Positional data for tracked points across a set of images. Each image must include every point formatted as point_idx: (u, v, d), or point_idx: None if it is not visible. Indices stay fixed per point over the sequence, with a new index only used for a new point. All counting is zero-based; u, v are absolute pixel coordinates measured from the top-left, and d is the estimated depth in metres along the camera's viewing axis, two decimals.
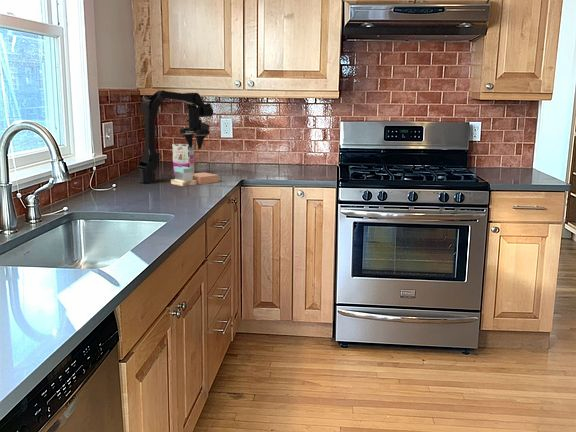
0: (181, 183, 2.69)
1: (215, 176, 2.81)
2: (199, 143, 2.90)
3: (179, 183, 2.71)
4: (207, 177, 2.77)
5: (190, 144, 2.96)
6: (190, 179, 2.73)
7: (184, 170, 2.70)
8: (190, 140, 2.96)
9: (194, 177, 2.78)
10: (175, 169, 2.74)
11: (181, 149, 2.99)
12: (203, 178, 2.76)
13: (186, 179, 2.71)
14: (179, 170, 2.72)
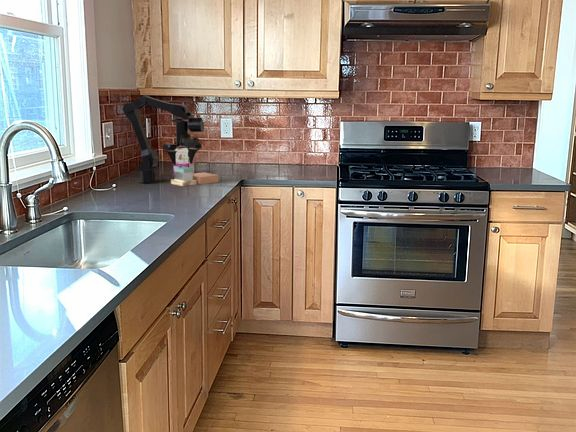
0: (181, 183, 2.69)
1: (215, 176, 2.81)
2: (171, 159, 2.69)
3: (179, 183, 2.71)
4: (207, 177, 2.77)
5: (190, 160, 2.76)
6: (190, 179, 2.73)
7: (184, 170, 2.70)
8: (190, 155, 2.76)
9: (194, 177, 2.78)
10: (175, 169, 2.74)
11: (181, 149, 2.99)
12: (203, 178, 2.76)
13: (186, 179, 2.71)
14: (179, 170, 2.72)
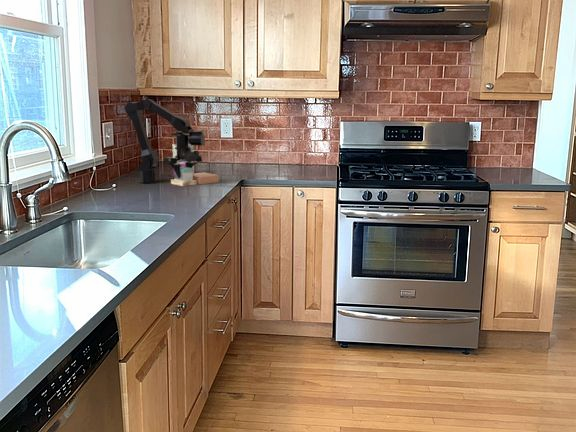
0: (181, 183, 2.69)
1: (215, 176, 2.81)
2: (176, 172, 2.72)
3: (179, 183, 2.71)
4: (207, 177, 2.77)
5: None
6: (190, 179, 2.73)
7: (184, 170, 2.70)
8: None
9: (194, 177, 2.78)
10: None
11: None
12: (203, 178, 2.76)
13: (186, 179, 2.71)
14: None
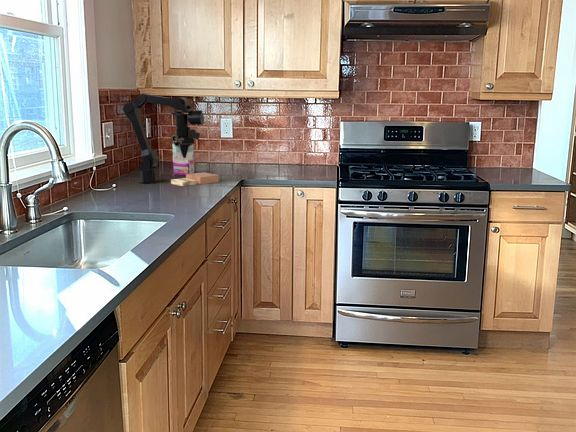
0: (181, 183, 2.69)
1: (215, 176, 2.81)
2: (183, 152, 2.68)
3: (179, 183, 2.71)
4: (207, 177, 2.77)
5: None
6: None
7: None
8: None
9: (194, 177, 2.78)
10: (178, 150, 2.68)
11: None
12: (203, 178, 2.76)
13: None
14: None
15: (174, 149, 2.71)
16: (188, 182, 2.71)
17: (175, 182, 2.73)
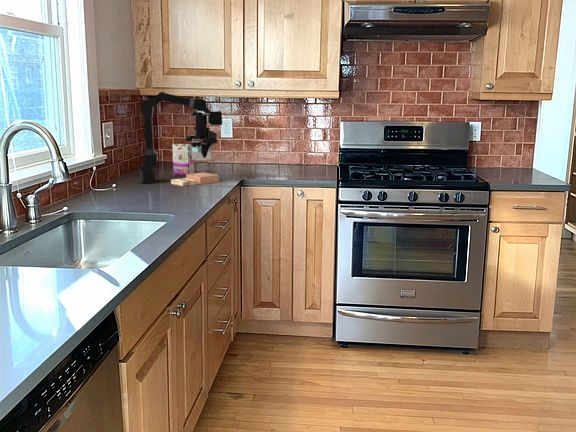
0: (181, 183, 2.69)
1: (215, 176, 2.81)
2: (204, 152, 2.76)
3: (179, 183, 2.71)
4: (207, 177, 2.77)
5: None
6: None
7: None
8: None
9: (194, 177, 2.78)
10: (199, 150, 2.76)
11: (181, 149, 2.99)
12: (203, 178, 2.76)
13: None
14: None
15: (193, 150, 2.77)
16: (188, 182, 2.71)
17: (175, 182, 2.73)
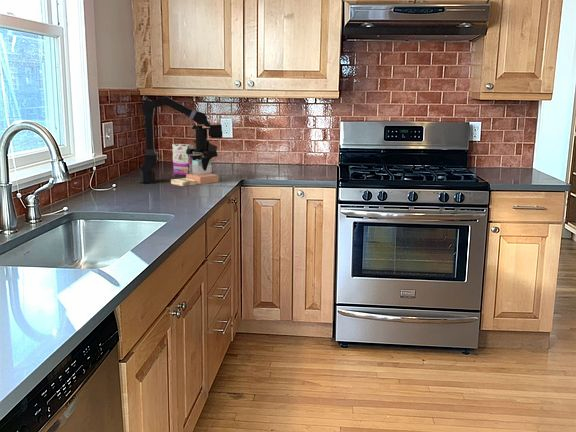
0: (181, 183, 2.69)
1: (215, 176, 2.81)
2: (204, 165, 2.78)
3: (179, 183, 2.71)
4: (207, 177, 2.77)
5: None
6: None
7: None
8: None
9: (194, 177, 2.78)
10: (199, 163, 2.77)
11: (181, 149, 2.99)
12: (203, 178, 2.76)
13: None
14: None
15: (194, 163, 2.79)
16: (188, 182, 2.71)
17: (175, 182, 2.73)
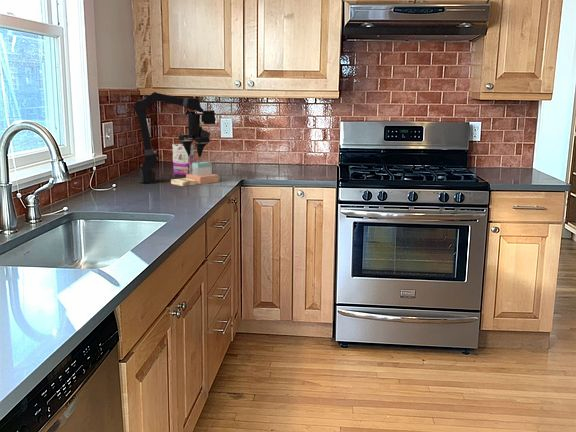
0: (181, 183, 2.69)
1: (215, 176, 2.81)
2: (199, 151, 2.76)
3: (179, 183, 2.71)
4: (207, 177, 2.77)
5: (188, 151, 2.83)
6: None
7: None
8: (188, 147, 2.83)
9: (194, 177, 2.78)
10: (200, 165, 2.77)
11: (181, 149, 2.99)
12: (203, 178, 2.76)
13: None
14: (205, 165, 2.79)
15: (194, 165, 2.79)
16: (188, 182, 2.71)
17: (175, 182, 2.73)
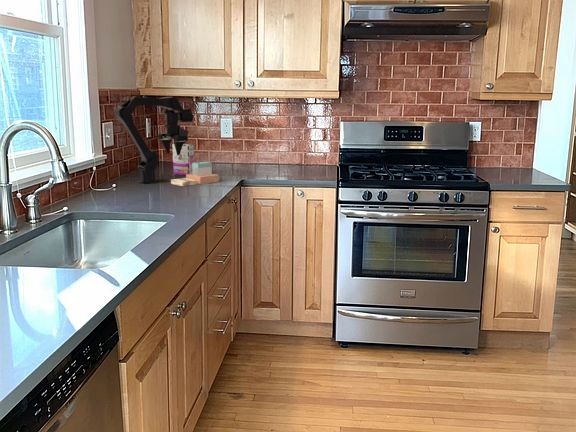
0: (181, 183, 2.69)
1: (215, 176, 2.81)
2: (178, 149, 2.79)
3: (179, 183, 2.71)
4: (207, 177, 2.77)
5: (167, 150, 2.86)
6: None
7: None
8: (167, 146, 2.86)
9: (194, 177, 2.78)
10: (200, 165, 2.77)
11: (181, 149, 2.99)
12: (203, 178, 2.76)
13: None
14: (205, 165, 2.79)
15: (194, 165, 2.79)
16: (188, 182, 2.71)
17: (175, 182, 2.73)
